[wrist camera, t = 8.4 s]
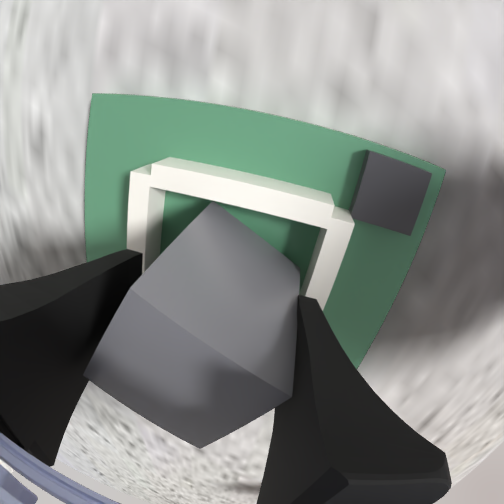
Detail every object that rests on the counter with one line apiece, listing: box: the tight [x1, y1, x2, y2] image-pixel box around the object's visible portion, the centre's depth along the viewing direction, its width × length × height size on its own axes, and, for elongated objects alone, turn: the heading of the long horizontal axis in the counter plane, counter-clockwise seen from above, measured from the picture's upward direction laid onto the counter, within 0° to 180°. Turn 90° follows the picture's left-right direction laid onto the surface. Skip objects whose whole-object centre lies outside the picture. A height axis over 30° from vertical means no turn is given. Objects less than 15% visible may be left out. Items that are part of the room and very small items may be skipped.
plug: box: [83, 201, 300, 449], centre depth 10 cm, size 4×5×6 cm
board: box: [85, 93, 446, 369], centre depth 12 cm, size 14×12×2 cm
